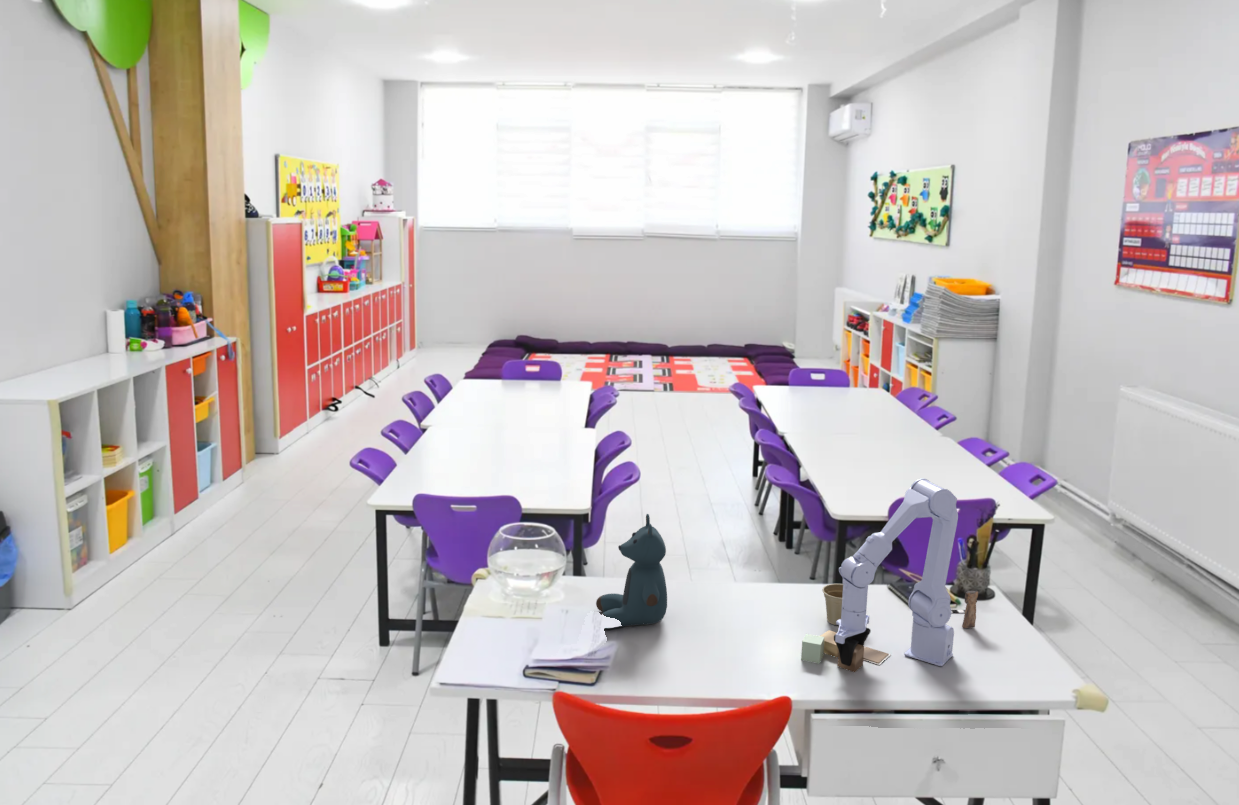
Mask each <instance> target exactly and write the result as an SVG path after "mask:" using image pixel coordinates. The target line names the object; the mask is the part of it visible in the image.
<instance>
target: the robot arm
mask: <svg viewBox="0 0 1239 805" xmlns="http://www.w3.org/2000/svg"><path fill="white" fill-rule="evenodd" d="M903 497H904V498H903V501H902V503H901V504H900V506H898V508H897V509H896V511H894V513H893V514H892V516H891V517H890V518H889V520H888V521H887V522H886V524H885V525H884V527H883V528H882V529H881V531H880V532H873V533H872V534H871V535H869V536H867V538H865V542H864V543H863V544H862V545H861V546H860V548H859V549H858V550H857V551H856V552H855V553H854V554H853V555H852V556H849V557H847V558H845V559H844V560H842V563H841V566H840V567H838V572H839V573H838V574H839V575H840V576H841V577H842V584H843V595H842V611H841V619H839V620H837V621H836V624H837V625H838V630H837V632H836V633H837V634H836V635H834V641H835V643H836V645H837V647H838V650H839V654H840V659H841V663H842V664H844V665H847V666H850V665H851V662H852V658H853V653H854V650H855V647H856V645H857V644H859V645H862V646H864V647H865V643H866V641H867V639H868V637H869V635H870V634H871V631H872V630H871V628H869V627H867V625H869V624H870V615H868V614H867V606H868V594H869V593H868V590H869V585H870V584H871V583H872V582H873V581H874V579H875V573H876V572H877V568H878V567H879V565H881V563H882V562H883V561H884V560H885V558H886V557H888V555H889V554H890V553H891V552H892V551H893V541H895V540H896V539H897V538H898V536H900V535H901V533H902V532H903V531H905V530H906V528H907V527H909V526H910V524H911V523H912V522H913V521H914V520H915V519H921V518H931V519H932V523H931V524H932V525H931V530H930V533H929V534H930V535H929V540H928V545H927V549H926V550H927V551H926V557H925V562H924V565H923V566H924V568H923V571H922V572H923V573H922V577H921V578H922V579H921V580H920V581H919V582H916V583H915V584H914V586H913V590H912V592H911V594H910V595H909V597H908V600H907V601H908V602H907V606H908V609H910V611H912V614H911V616H912V626H911V638H910V639H911V641H910V647H909V648H908V649H907V650H906V651H905V652H904V653H903V654H904V656H906V657H909V658H913V659H916V660H918V661H921V662H926V663H929V664H932V665H935V666H939V667H943V666H944V665H945V664H946V663H947V662H948V661H949V660H950V659H951V658H952V657H953V655H954V653H953V650H954V649H953V648H954V647H953V646H954V636H955V630H954V627H952V626H950V625H948V624H947V623H948V622H949V620H950V619H951V617H952V613H951V610H952V608H951V599H952V598H951V596H950V594H949V591H948V590H947V587H946V583H947V578H948V572H949V567H950V562H951V558H952V551H953V547H954V540H955V536H956V531H957V526H958V521H959V520H958V519H959V514H958V509H957V500H958V498H957V497H956V495H954V493H953V492H952V491H951V490H950V489H948V488H944V487H942V486H940V485H938V484H936V483H933V482H931V481H930V480H929V479H927V478H919V479H916V480H915V481H914V482H913V483H912V484H911V486H910V487H909V488H908V489H907V490H906V491H905V493H904V496H903ZM837 625H836V626H837Z"/></svg>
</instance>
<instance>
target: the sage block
mask: <svg viewBox="0 0 1239 805" xmlns="http://www.w3.org/2000/svg"><path fill="white" fill-rule="evenodd" d="M800 654H801V655H800V656H801V657H800V660H801V661H803V660H804V662H808V661H809V663H813V662H815V664H819V663H820V664H821V662H822V660H823V658H822V657H824V654H825V653H824V637H822V636H820V635H816V634H815V635H814V634H810V633H805V635H804V637H803V639H802V641H801V652H800ZM821 659H822V660H821ZM820 661H821V662H820Z"/></svg>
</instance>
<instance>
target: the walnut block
mask: <svg viewBox="0 0 1239 805" xmlns="http://www.w3.org/2000/svg"><path fill="white" fill-rule="evenodd" d="M864 647H865V645H864V646H862V645H859V644H857V645H856V647H855V650H854V653H853V658H852V662H851V665H850V666H847V665H844V664H842V663H841V659H840V654H839V650H838V658H837V665H836V666H839V667H838V668H840V667H841V669H844V670H846V669H847V670H846V671H849V670H850V672H853V673H856V672H857V671H858V670H860V669H861V666H862V665H864V660H863V657H864ZM862 667H863V666H862Z"/></svg>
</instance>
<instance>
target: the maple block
mask: <svg viewBox="0 0 1239 805" xmlns="http://www.w3.org/2000/svg"><path fill="white" fill-rule="evenodd" d="M836 634H837V632H836V631H832V630H830V629H828V630H827V631H825V632H824V633H822V634H820V635H819V636H822V637H824V654H825V653H826V654H825V655H828V656H830V655H832V656H831V657H833V656H835V657H834V658H836V657H838V647H837V645H836V643H835V641H834V635H836Z"/></svg>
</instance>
